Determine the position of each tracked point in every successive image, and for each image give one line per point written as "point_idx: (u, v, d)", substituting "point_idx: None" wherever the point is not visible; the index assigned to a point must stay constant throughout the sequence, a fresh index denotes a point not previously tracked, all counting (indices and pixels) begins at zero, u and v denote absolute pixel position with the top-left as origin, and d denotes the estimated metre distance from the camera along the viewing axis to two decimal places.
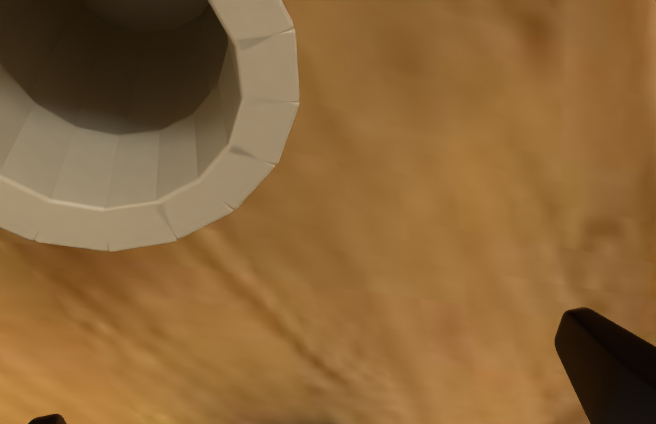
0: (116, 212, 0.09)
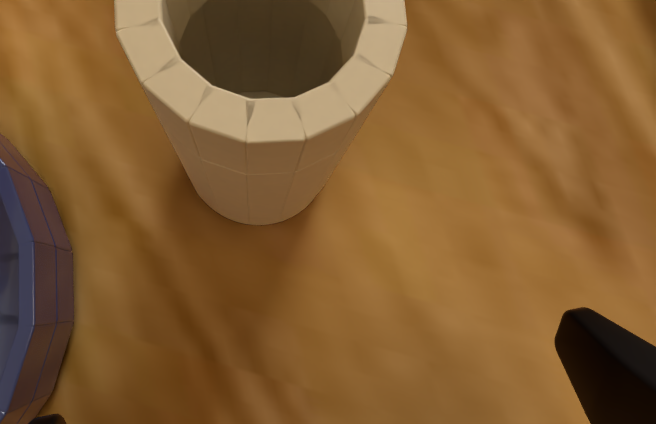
0: (259, 106, 0.11)
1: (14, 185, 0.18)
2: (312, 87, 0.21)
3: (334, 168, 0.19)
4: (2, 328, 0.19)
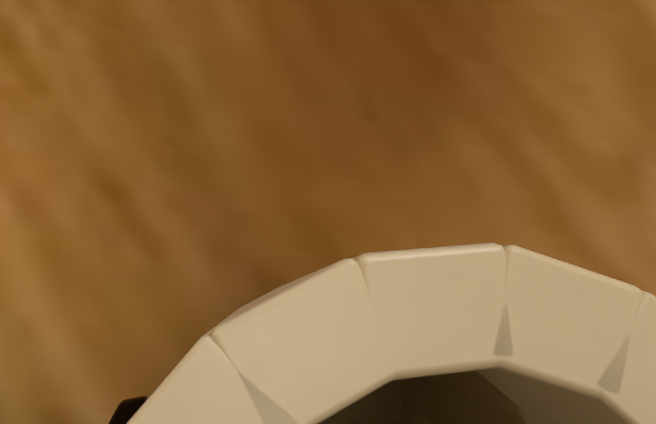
0: None
1: None
2: None
3: None
4: None
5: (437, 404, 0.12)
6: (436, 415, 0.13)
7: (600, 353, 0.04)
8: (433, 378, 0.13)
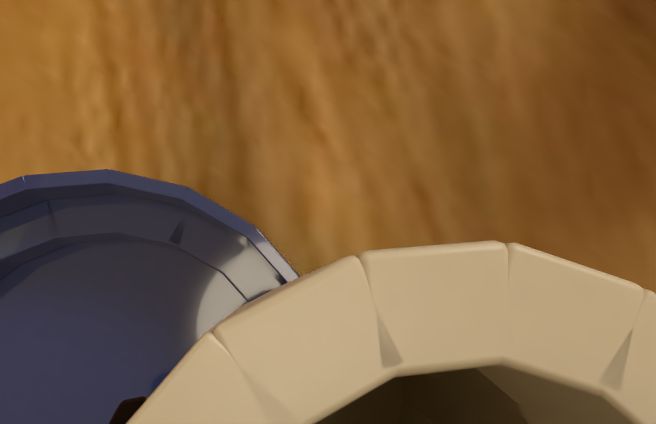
0: None
1: None
2: None
3: None
4: None
5: (438, 403, 0.12)
6: (437, 414, 0.13)
7: (601, 351, 0.04)
8: (434, 377, 0.13)
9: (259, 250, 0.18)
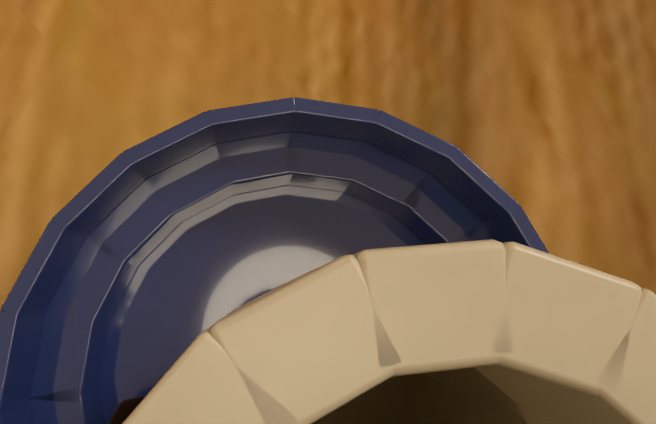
0: None
1: None
2: None
3: None
4: None
5: (437, 403, 0.12)
6: (437, 414, 0.13)
7: (600, 350, 0.04)
8: (433, 377, 0.13)
9: (519, 230, 0.17)
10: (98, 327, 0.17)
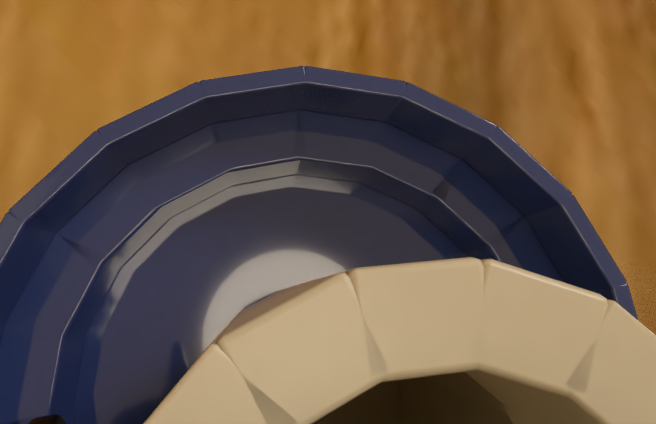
0: None
1: None
2: None
3: None
4: None
5: (432, 403, 0.13)
6: (432, 413, 0.13)
7: (569, 356, 0.05)
8: (428, 378, 0.13)
9: (573, 225, 0.14)
10: (70, 341, 0.14)
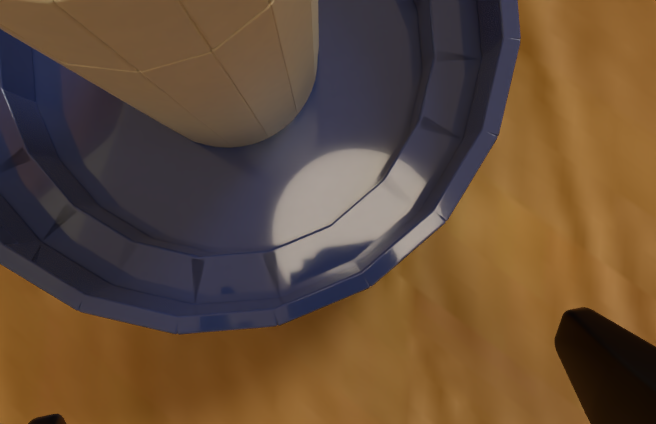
0: None
1: None
2: None
3: (311, 46, 0.14)
4: (418, 133, 0.17)
5: None
6: None
7: None
8: None
9: None
10: None
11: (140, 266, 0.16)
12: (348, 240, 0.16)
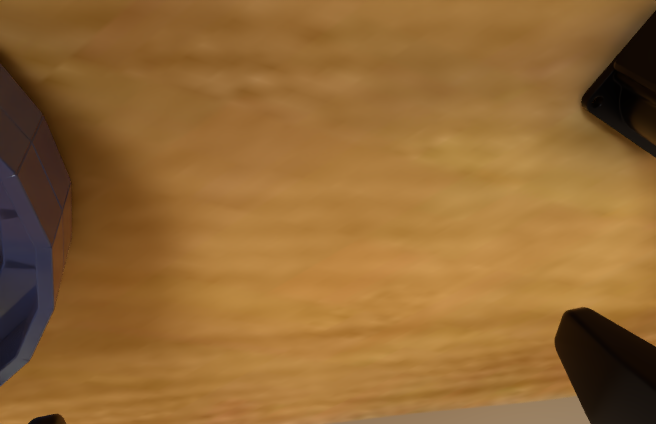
0: None
1: None
2: None
3: None
4: None
5: None
6: None
7: None
8: None
9: None
10: None
11: (11, 299, 0.20)
12: None
